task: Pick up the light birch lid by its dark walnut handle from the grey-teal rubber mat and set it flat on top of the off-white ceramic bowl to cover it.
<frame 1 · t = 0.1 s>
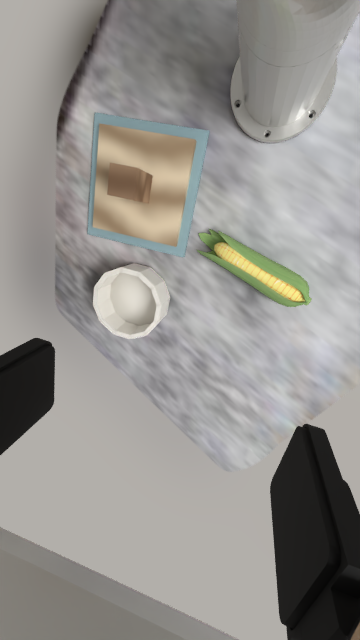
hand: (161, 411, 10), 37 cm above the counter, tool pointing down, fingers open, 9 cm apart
bowl: (138, 296, 49), on the counter
mat: (142, 188, 43), on the counter
lid: (141, 188, 42), resting on mat
edible corn: (251, 265, 43), on the counter
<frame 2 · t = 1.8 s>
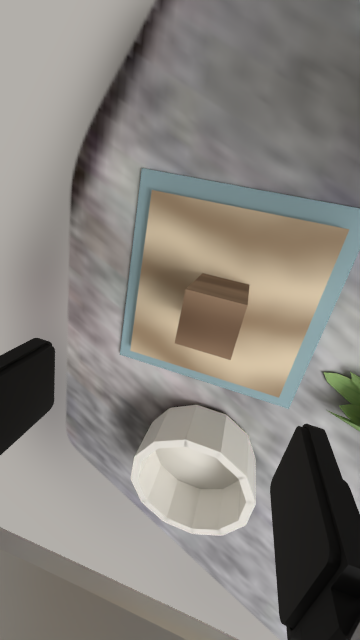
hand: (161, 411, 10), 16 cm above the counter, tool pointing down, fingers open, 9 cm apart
bowl: (199, 446, 31), on the counter
mat: (221, 296, 24), on the counter
lid: (221, 298, 24), resting on mat
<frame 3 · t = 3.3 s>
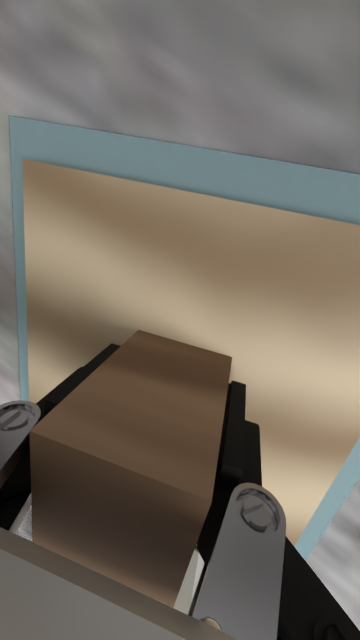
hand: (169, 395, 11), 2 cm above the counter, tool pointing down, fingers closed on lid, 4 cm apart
bowl: (160, 583, 19), on the counter
mat: (182, 367, 13), on the counter
lid: (180, 371, 12), resting on mat, touching gripper
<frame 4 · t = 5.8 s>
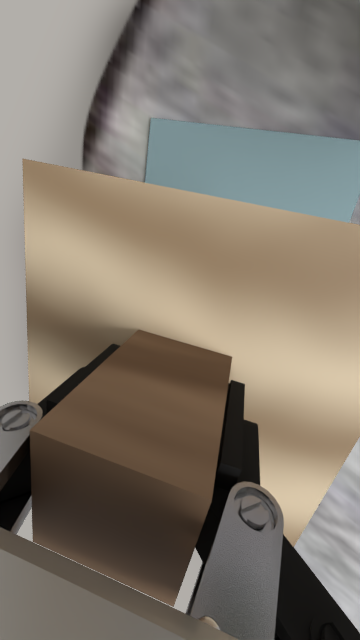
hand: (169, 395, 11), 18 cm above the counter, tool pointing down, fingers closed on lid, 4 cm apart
mat: (230, 244, 25), on the counter
lid: (180, 371, 12), point 16 cm above the counter, touching gripper
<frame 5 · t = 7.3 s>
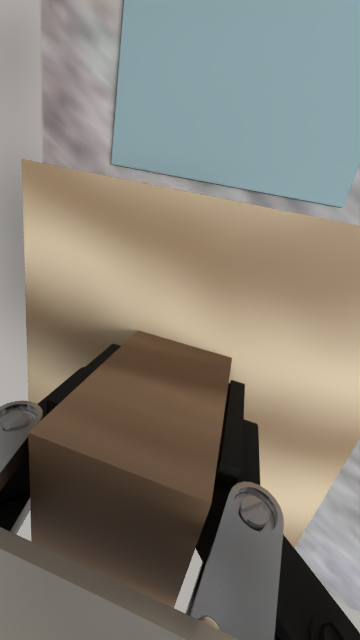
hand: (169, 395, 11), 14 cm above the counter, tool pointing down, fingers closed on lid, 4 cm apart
mat: (253, 31, 17), on the counter
lid: (180, 372, 12), point 12 cm above the counter, touching gripper
when the fingers open (9 cm above the counter, at t = 8.5 s): lid drops 1 cm, resting on bowl.
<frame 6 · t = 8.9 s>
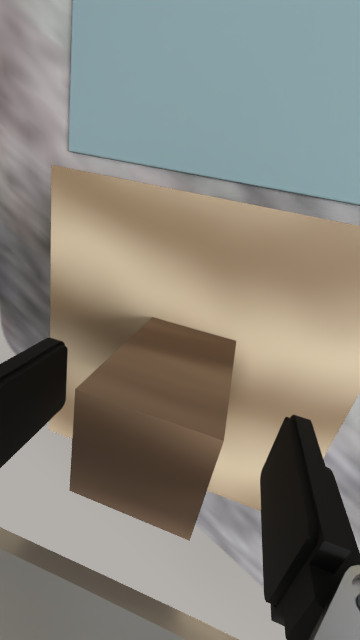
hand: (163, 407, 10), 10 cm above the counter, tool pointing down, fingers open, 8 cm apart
lid: (189, 356, 14), point 5 cm above the counter, touching bowl
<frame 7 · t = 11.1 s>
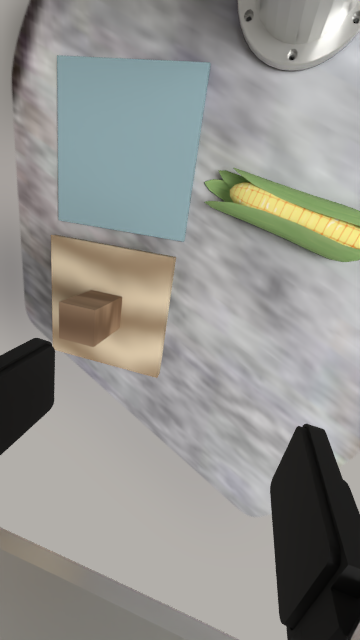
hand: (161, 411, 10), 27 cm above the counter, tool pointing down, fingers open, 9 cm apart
mat: (124, 153, 32), on the counter
lid: (110, 307, 33), point 5 cm above the counter, touching bowl
edible corn: (283, 214, 31), on the counter
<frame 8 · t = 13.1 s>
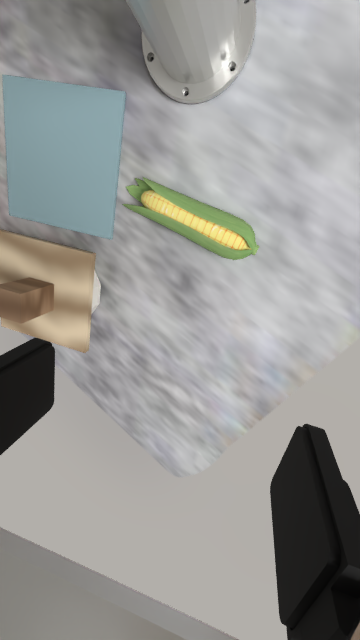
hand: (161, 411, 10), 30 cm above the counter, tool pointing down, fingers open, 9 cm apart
mat: (61, 161, 38), on the counter
lid: (46, 292, 39), point 5 cm above the counter, touching bowl
edible corn: (190, 217, 37), on the counter
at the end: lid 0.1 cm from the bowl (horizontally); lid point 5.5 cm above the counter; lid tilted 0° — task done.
